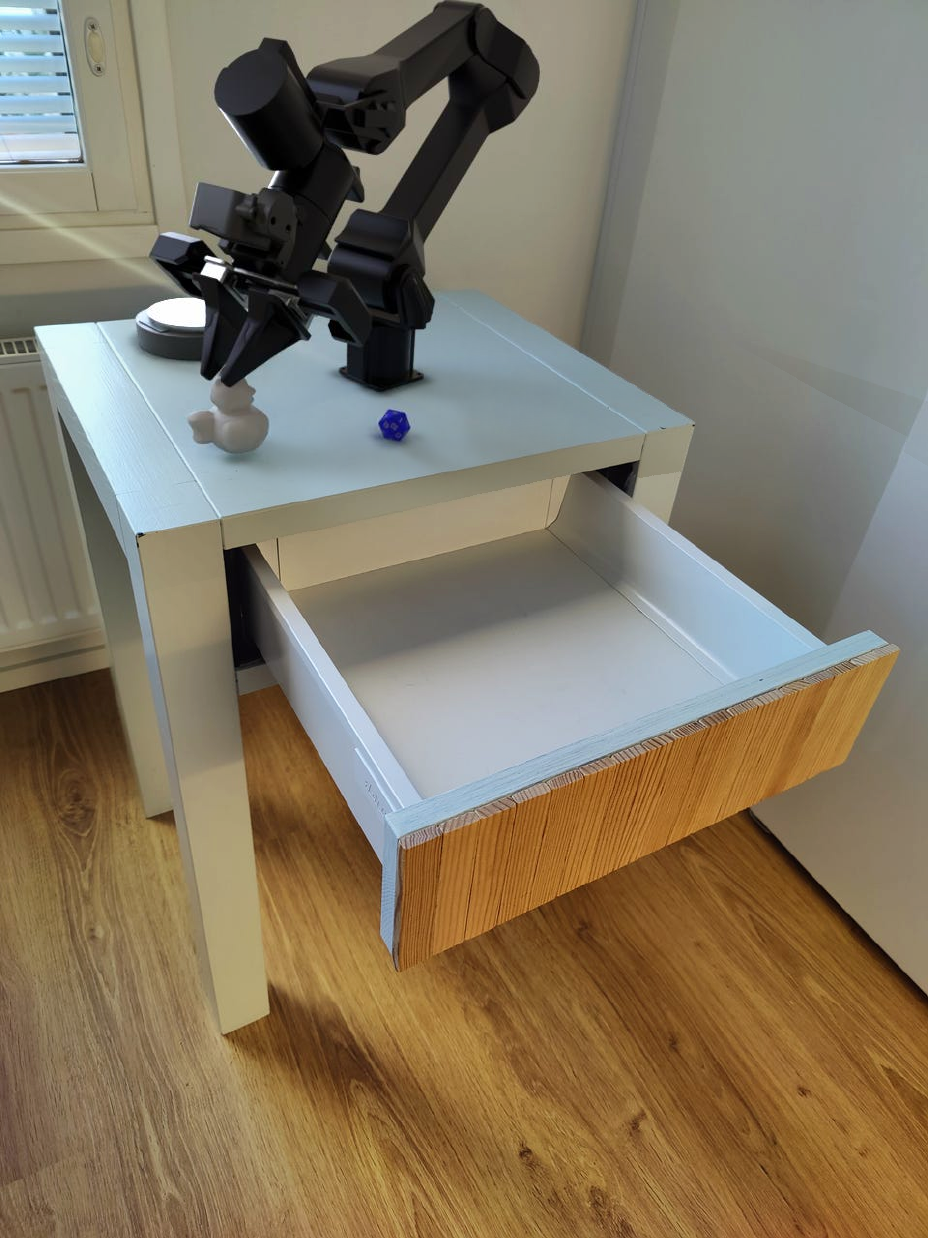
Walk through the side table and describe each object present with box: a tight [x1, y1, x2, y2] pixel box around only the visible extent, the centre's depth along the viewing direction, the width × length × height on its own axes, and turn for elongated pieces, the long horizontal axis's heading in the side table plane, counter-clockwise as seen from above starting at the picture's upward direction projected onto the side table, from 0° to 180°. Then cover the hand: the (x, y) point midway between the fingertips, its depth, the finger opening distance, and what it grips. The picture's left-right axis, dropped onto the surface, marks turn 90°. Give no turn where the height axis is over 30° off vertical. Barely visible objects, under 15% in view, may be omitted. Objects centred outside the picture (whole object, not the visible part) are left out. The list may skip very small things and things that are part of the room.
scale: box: [135, 297, 205, 361], centre depth 92 cm, size 11×11×3 cm
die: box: [377, 408, 411, 442], centre depth 78 cm, size 3×3×3 cm
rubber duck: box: [187, 365, 270, 455], centre depth 71 cm, size 5×7×8 cm
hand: (214, 381), depth 69 cm, fingers closed on rubber duck
